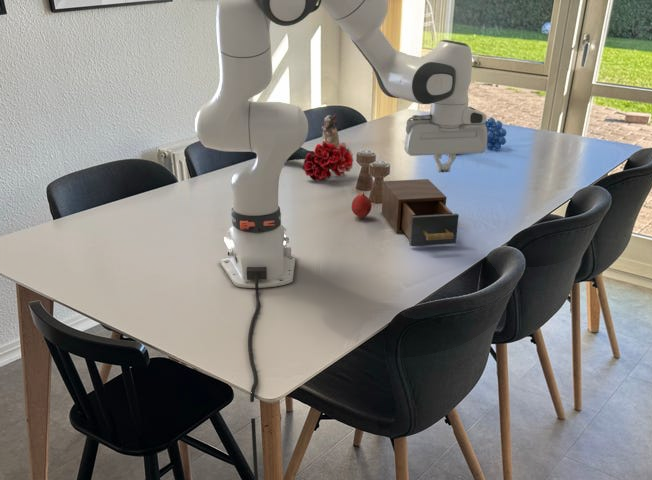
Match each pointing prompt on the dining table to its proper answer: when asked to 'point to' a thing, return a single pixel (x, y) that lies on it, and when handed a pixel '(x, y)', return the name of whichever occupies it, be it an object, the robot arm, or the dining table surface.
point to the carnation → (325, 160)
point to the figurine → (330, 131)
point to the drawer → (428, 223)
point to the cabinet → (406, 197)
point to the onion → (361, 205)
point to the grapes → (495, 134)
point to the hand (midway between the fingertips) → (443, 171)
